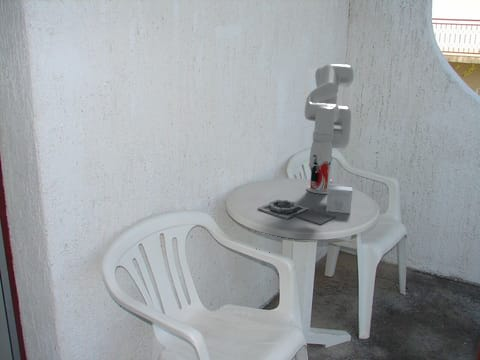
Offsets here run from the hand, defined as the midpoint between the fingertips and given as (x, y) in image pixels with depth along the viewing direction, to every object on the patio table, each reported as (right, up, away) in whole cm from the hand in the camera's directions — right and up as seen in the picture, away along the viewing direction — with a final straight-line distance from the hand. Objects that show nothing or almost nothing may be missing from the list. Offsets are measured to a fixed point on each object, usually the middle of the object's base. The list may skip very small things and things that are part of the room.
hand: (319, 179), depth 190 cm
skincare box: (+11, -14, +15) cm, 23 cm away
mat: (-1, -16, +5) cm, 17 cm away
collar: (-14, -14, +12) cm, 23 cm away
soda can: (0, -4, +1) cm, 4 cm away
